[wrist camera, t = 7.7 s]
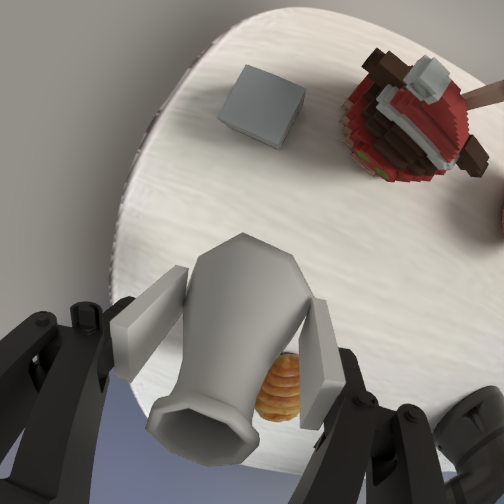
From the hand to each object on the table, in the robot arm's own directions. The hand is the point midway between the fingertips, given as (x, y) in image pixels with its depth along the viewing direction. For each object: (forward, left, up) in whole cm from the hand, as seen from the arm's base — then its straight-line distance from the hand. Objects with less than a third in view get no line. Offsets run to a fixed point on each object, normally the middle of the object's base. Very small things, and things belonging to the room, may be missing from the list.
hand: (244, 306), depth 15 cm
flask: (0, 0, -1) cm, 1 cm away
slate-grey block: (+12, +2, -12) cm, 18 cm away
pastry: (-16, -6, -13) cm, 22 cm away
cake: (+14, -9, -13) cm, 21 cm away
